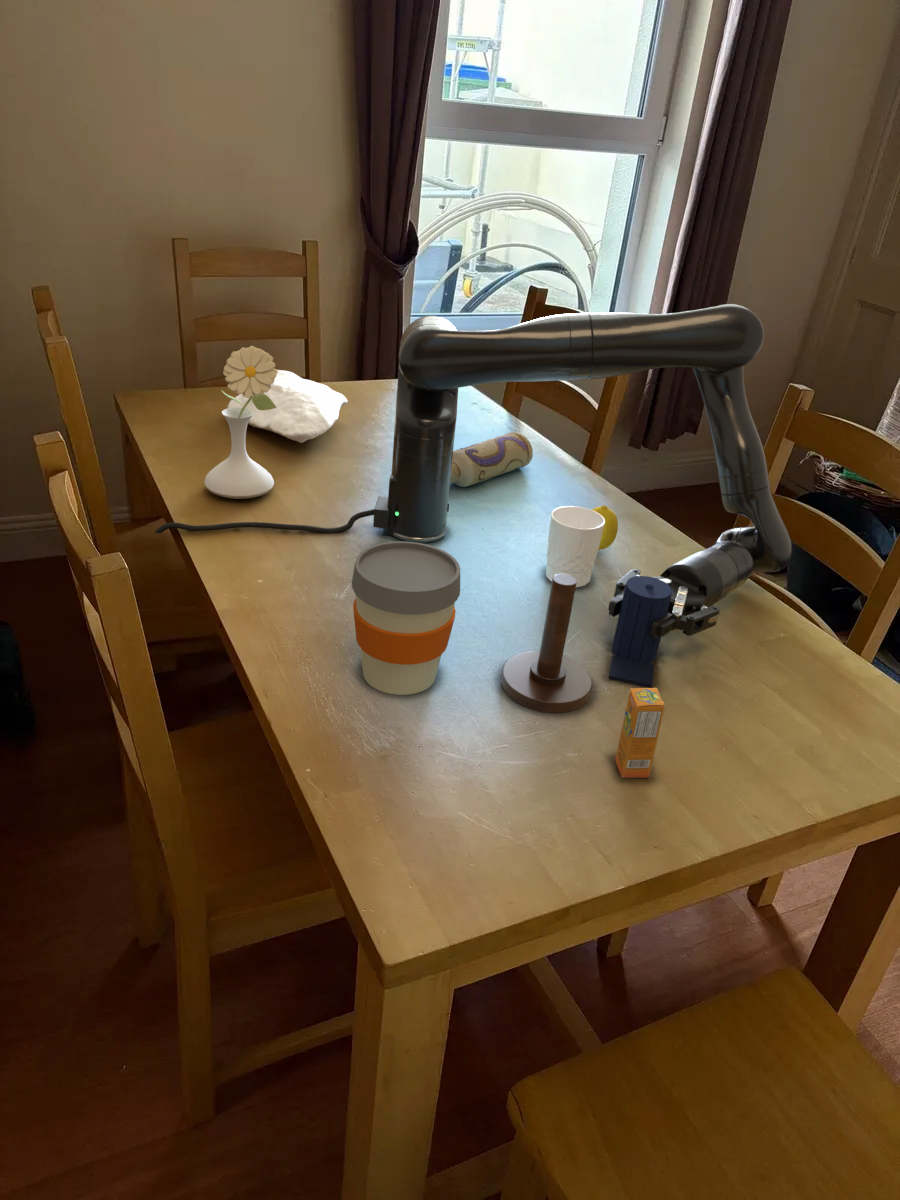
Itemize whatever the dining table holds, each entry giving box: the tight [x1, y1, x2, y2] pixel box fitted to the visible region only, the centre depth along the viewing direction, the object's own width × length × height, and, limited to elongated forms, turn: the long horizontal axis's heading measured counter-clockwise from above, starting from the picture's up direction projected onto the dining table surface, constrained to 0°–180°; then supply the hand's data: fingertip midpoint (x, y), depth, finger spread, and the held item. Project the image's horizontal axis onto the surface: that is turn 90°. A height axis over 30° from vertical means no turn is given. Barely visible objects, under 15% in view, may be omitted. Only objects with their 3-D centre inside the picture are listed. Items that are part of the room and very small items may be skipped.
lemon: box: [591, 505, 619, 552], centre depth 141 cm, size 6×6×8 cm
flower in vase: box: [203, 345, 278, 500], centre depth 144 cm, size 13×11×25 cm
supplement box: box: [614, 687, 666, 779], centre depth 95 cm, size 3×3×10 cm
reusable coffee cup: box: [351, 540, 461, 696], centre depth 105 cm, size 13×13×15 cm
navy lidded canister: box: [608, 575, 672, 688], centre depth 113 cm, size 10×6×10 cm, turn 166°
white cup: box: [545, 505, 605, 588], centre depth 132 cm, size 8×8×10 cm
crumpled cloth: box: [227, 369, 348, 444], centre depth 177 cm, size 24×35×9 cm
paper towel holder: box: [500, 574, 593, 714], centre depth 106 cm, size 11×11×15 cm
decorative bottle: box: [450, 431, 534, 488], centre depth 162 cm, size 26×8×7 cm, turn 136°
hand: (632, 619), depth 113 cm, fingers closed on navy lidded canister, 5 cm apart
